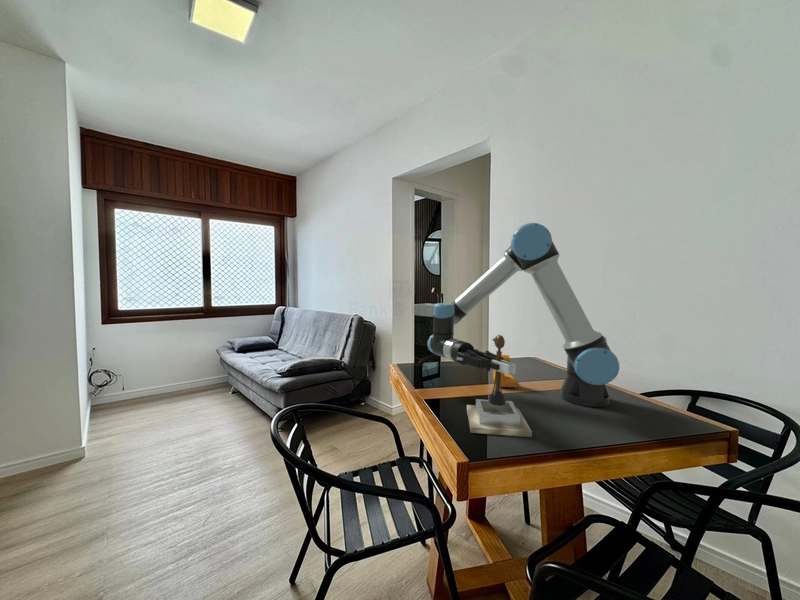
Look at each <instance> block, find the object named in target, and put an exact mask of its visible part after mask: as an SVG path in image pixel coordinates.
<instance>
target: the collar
mask: <svg viewBox="0 0 800 600" xmlns="http://www.w3.org/2000/svg"><path fill="white" fill-rule="evenodd" d="M488 401H489V399H481V398H479V399H478V398H476V399H475V405H476V412H477V416H478V420H479V424H489V425H503V426H517V427H520V415H519V413H518V411H517V409H516V408H517V407H516V406H515V404H514V402H513V401H512V400H506V404H505V405H502V406H497V405H493V404H490V403H489V402H488ZM483 410H484V411H500V412H509V414H507V413H492V412H484V411H483Z"/></svg>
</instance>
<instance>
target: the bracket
mask: <svg viewBox="0 0 800 600" xmlns="http://www.w3.org/2000/svg"><path fill="white" fill-rule="evenodd" d="M501 357H503V358H504V361H507V362H510V363H511V358H510V355H509V354H501ZM492 371H493V372H492V379H493V382H494V381H495V373H496V371H495V370H493V369H492ZM495 385H496V383H495ZM503 387H504V388H517V387H518V381H517V380H516V379H515V377H514V376H513V374H510V375H506V374H504V373H501V388H503Z"/></svg>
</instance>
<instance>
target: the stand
mask: <svg viewBox="0 0 800 600" xmlns="http://www.w3.org/2000/svg"><path fill="white" fill-rule="evenodd" d="M515 408H516V409H517V411H518V413H519V415H520V427H517V426H503V425H489V424H479V420H478V416H477V412H476V404H466V413H467V414H466V415H467V418H468V425H469V430H470V433H471V434H472V433H473V434H484V435H496V436H497V435H501V436H510V437H511V436H514V437H523V438H524V437H525V438H532V437H533V431H532V430H531V427H530V425H529V423H528V422H527V420H526V419H525V417H524V415H523V414H522V412H521V410H520V409H519V407H515ZM483 411H484V410H483ZM484 412H492V413H507V414H509V412H500V411H484Z"/></svg>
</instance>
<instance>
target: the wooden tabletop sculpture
mask: <svg viewBox="0 0 800 600" xmlns="http://www.w3.org/2000/svg"><path fill="white" fill-rule="evenodd" d="M492 341H493V343H494V346H495V347H496V348H497V350H496V354H495V355H496V361H499V362H501V355H503V351H501V350H502V349H503V348H504V346H505V344H506V340H505V338H504V336H503V335H501V334H498V335H497V336H495V337H493V338H492ZM495 383H496V384H495ZM502 388H503V387H501V372H498V371H496V373H495V381H494V380H493V387H492V391H491V393H490V394H489V396H488V400H489V401H488V402H489V403H490V404H493V405H497V406H502V405H505V404H506V401H507V400H506V396H505V395H504V393H503V391H502Z"/></svg>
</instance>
